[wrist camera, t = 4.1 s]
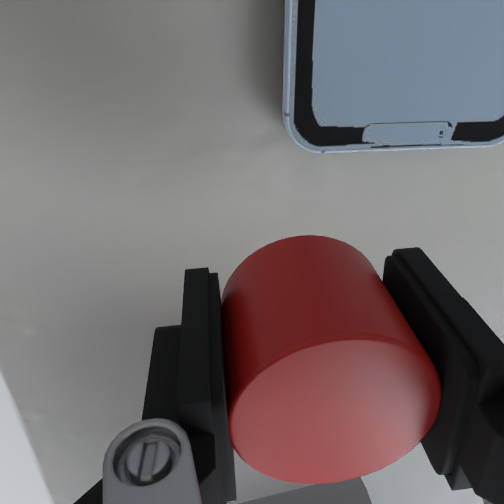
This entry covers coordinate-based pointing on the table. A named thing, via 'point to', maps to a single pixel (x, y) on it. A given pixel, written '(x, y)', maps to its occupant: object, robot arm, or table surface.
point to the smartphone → (393, 74)
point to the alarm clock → (293, 489)
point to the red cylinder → (321, 365)
